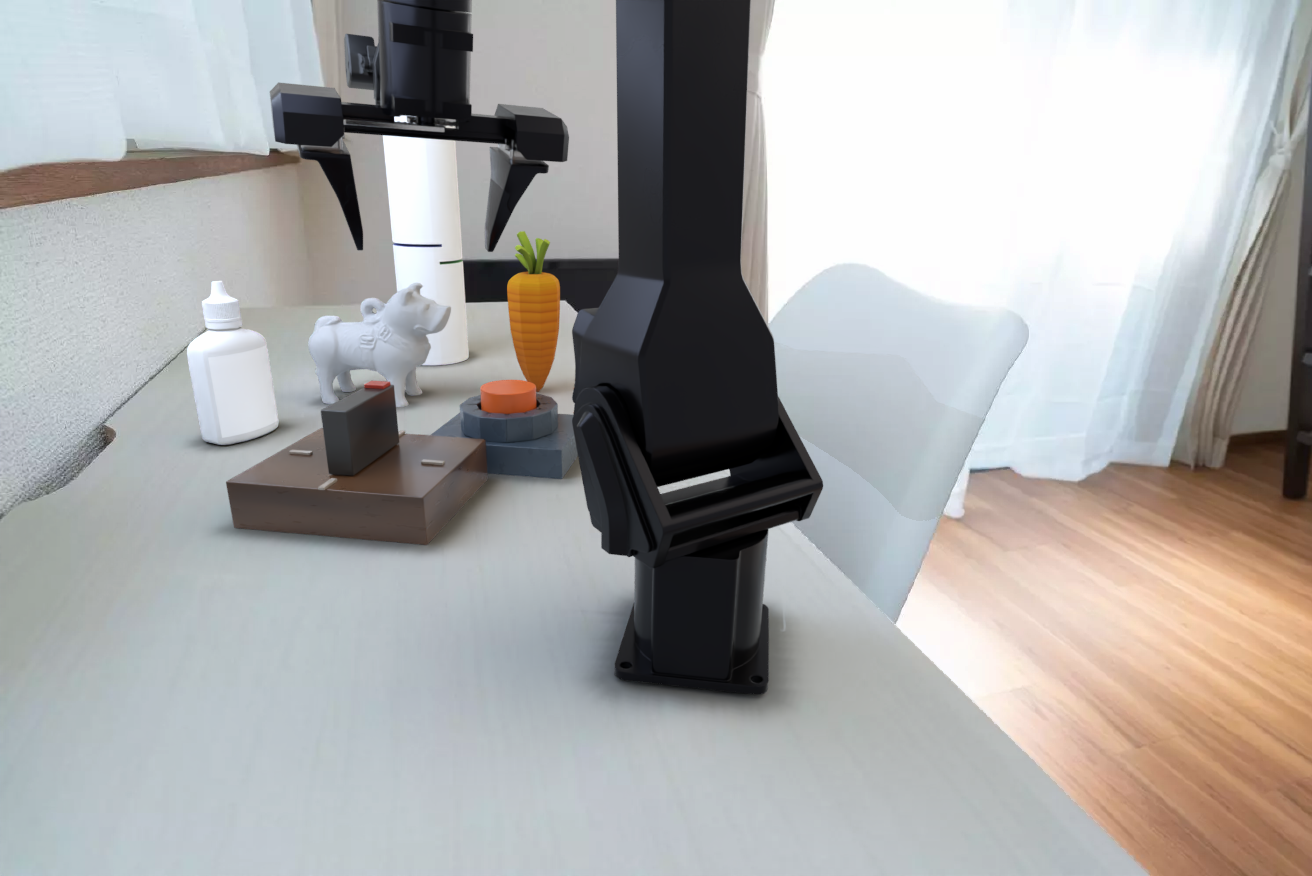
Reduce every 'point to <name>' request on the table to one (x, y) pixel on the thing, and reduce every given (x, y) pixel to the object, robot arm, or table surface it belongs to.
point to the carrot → (534, 312)
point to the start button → (508, 396)
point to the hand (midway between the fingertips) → (426, 249)
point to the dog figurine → (378, 343)
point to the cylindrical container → (429, 232)
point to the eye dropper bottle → (231, 375)
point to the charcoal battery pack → (360, 428)
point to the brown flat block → (361, 490)
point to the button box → (519, 438)
